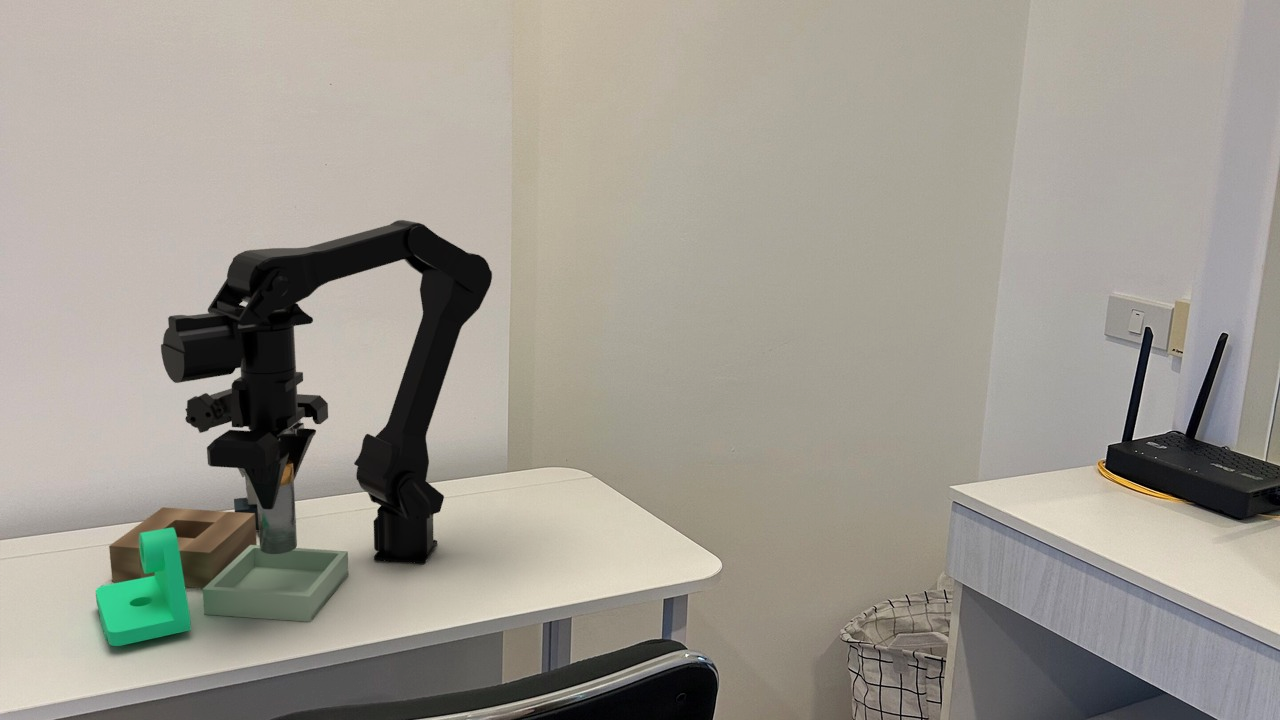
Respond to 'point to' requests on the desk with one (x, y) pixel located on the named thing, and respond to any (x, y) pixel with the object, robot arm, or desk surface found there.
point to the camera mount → (147, 595)
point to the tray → (276, 584)
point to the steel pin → (279, 518)
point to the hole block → (188, 543)
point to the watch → (247, 499)
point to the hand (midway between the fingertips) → (275, 501)
